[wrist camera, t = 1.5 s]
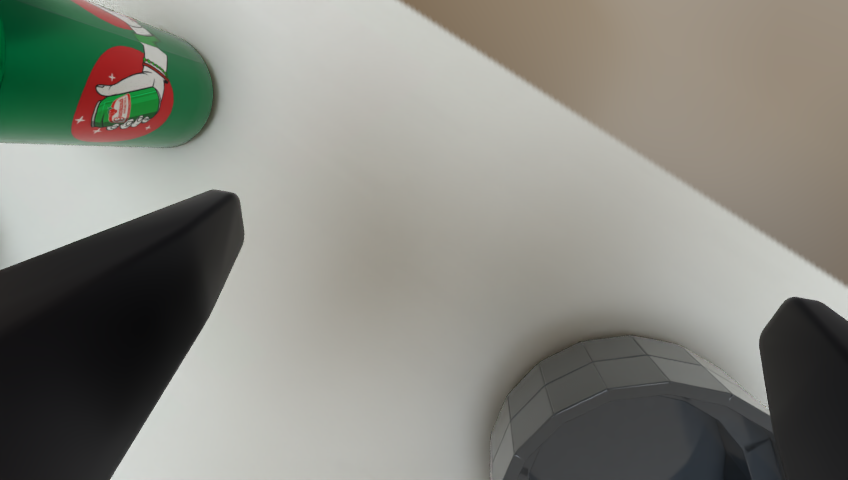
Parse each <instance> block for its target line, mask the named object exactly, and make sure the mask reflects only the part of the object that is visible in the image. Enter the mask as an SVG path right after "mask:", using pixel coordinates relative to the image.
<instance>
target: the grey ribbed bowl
mask: <svg viewBox="0 0 848 480" xmlns="http://www.w3.org/2000/svg"><path fill="white" fill-rule="evenodd" d="M490 480H786V478H785V474H784V471H783V467H782V463H781V460H780V456H779V453H778V449H777V445H776V441H775V437H774V433H773V428H772V423H771V418H770V412H769V410H768V409H767V408H766V407H764V406H763V405H762V404H761V403H760V402H759V401H758V400H756V399H755V398H754V397H753V396H752V395H751V394H750V393H748V392H747V391H746V390H745V389H744V388H742V387H741V386H740V385H739V384H738V383H737V382H736V381H734V380H733V379H732V378H731V377H730V376H729V375H728V374H726V373H725V372H724V371H723V370H722V369H721V368H719V367H717V366H716V365H714V364H712V363H711V362H709V361H707V360H705V359H704V358H702V357H700V356H699V355H697V354H695V353H693V352H692V351H690V350H688V349H687V348H685V347H683V346H681V345H679V344H675V343H670V342H665V341H660V340H655V339H650V338H644V337H639V336H634V335H631V336H629V335H626V336H619V337H611V338H604V339H596V340H588V341H583V342H579V343H577V344H575V345H573V346H570V347H568V348H566V349H564V350H562V351H560V352H558V353H556V354H554V355H552V356H550V357H548V358H546V359H544V360H542V361H540V362H539V363H538V364H537V365H536V366H535V367H534V368H533V369H532V370H531V371H530V372H529V373H528V374H527V375H526V376H525V377H524V378H523V379H522V380H521V381H520V382H519V383H518V385H517V386H516V387H515V388H514V389H513V390H512V391H511V392H510V393H509V394H508V395H507V397H506V399H505V401H504V404H503V406H502V409H501V411H500V413H499V416H498V418H497V420H496V423H495V425H494V428H493V430H492V432H491V444H490Z"/></svg>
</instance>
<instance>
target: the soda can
mask: <svg viewBox="0 0 848 480" xmlns="http://www.w3.org/2000/svg"><path fill="white" fill-rule="evenodd" d="M212 102H213V87H212V80H211V77H210V73H209V71H208V68H207V66H206V64H205V62H204V60H203V59H202V57H201V56H200V55H199V53H198V52H197V51H196V50H195V49H194V48H193V47H192V46H191V45H190V44H189V43H187V42H186V41H184V40H183V39H181V38H179V37H177V36H175V35H173V34H170V33H168V32H165V31H163V30H160V29H158V28H155V27H153V26H150V25H148V24H145V23H143V22H140V21H138V20H135V19H133V18H130V17H128V16H125V15H123V14H120V13H118V12H115V11H113V10H110V9H108V8H105V7H103V6H100V5H98V4H95V3H93V2H90V1H88V0H0V143H20V144H53V145H85V146H117V147H150V148H169V147H174V146H179V145H181V144H183V143H185V142H187V141H189V140H190V139H192V138H193V137H194V136H195V135H196V134H197V133H199V131H200V130H201V129H202V128H203V126H204V125H205V123H206V121H207V119H208V117H209V114H210V111H211V107H212Z"/></svg>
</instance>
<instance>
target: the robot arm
mask: <svg viewBox="0 0 848 480" xmlns="http://www.w3.org/2000/svg"><path fill="white" fill-rule="evenodd" d="M243 241H244V226H243V219H242V212H241V205H240V200H239V198H238V196H237V195H236V194H235V193H231V192H226V191H221V190H209V191H207V192H204V193H202V194H199V195H196V196H194V197H191V198H188V199H186V200H183V201H181V202H178V203H175V204H173V205H170V206H167V207H165V208H162V209H160V210H157V211H154V212H152V213H149V214H147V215H144V216H141V217H139V218H136V219H133V220H131V221H128V222H126V223H123V224H120V225H118V226H115V227H112V228H110V229H107V230H105V231H102V232H99V233H97V234H94V235H91V236H89V237H86V238H84V239H81V240H78V241H76V242H73V243H70V244H68V245H65V246H63V247H60V248H57V249H55V250H52V251H50V252H47V253H44V254H42V255H39V256H36V257H34V258H31V259H29V260H26V261H23V262H21V263H18V264H15V265H13V266H10V267H8V268H5V269H2V270H0V480H110V479H111V477H112V475H113V474H114V472H115V470H116V469H117V467H118V466H119V464H120V462H121V461H122V459H123V457H124V456H125V454H126V452H127V451H128V449H129V448H130V446H131V444H132V443H133V441H134V439H135V438H136V436H137V434H138V433H139V431H140V430H141V428H142V426H143V425H144V423H145V421H146V420H147V418H148V417H149V415H150V413H151V412H152V410H153V408H154V407H155V405H156V403H157V402H158V400H159V399H160V397H161V395H162V394H163V392H164V390H165V389H166V387H167V385H168V384H169V382H170V381H171V379H172V377H173V376H174V374H175V372H176V371H177V369H178V367H179V366H180V364H181V363H182V361H183V359H184V358H185V356H186V354H187V353H188V351H189V350H190V348H191V346H192V345H193V343H194V341H195V340H196V338H197V336H198V335H199V333H200V332H201V330H202V328H203V326H204V325H205V323H206V321H207V320H208V318H209V316H210V314H211V312H212V310H213V308H214V306H215V304H216V302H217V299H218V297H219V295H220V293H221V291H222V289H223V286H224V284H225V282H226V280H227V278H228V276H229V273H230V271H231V269H232V267H233V265H234V262H235V260H236V258H237V256H238V254H239V252H240V249H241V247H242V245H243ZM759 348H760V355H761V361H762V367H763V374H764V380H765V386H766V393H767V399H768V405H769V412H770V418H771V423H772V428H773V433H774V437H775V441H776V445H777V449H778V453H779V456H780V460H781V463H782V467H783V471H784V474H785V478H786V480H848V321H847V320H845V319H844V318H843V317H841V316H840V315H839V314H837V313H836V312H834V311H833V310H832V309H830V308H829V307H828V306H826V305H825V304H823V303H821V302H819V301H815V300H810V299H804V298H799V297H791V298H788V299H787V300H785V301H784V302H783V304H782V305H781V306H780V308H779V309H778V310H777V312H776V313H775V314H774V316H773V317H772V319H771V320H770V321H769V323H768V324H767V325H766V327H765V328H764V329H763V331H762V333H761V336H760V340H759Z"/></svg>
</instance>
